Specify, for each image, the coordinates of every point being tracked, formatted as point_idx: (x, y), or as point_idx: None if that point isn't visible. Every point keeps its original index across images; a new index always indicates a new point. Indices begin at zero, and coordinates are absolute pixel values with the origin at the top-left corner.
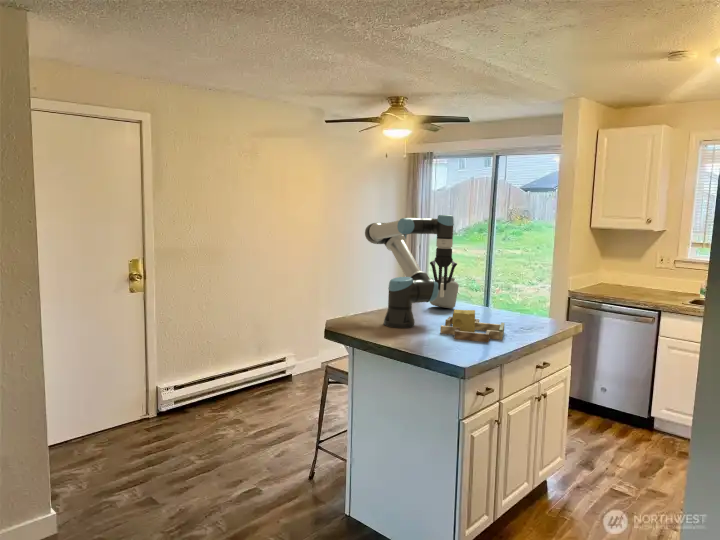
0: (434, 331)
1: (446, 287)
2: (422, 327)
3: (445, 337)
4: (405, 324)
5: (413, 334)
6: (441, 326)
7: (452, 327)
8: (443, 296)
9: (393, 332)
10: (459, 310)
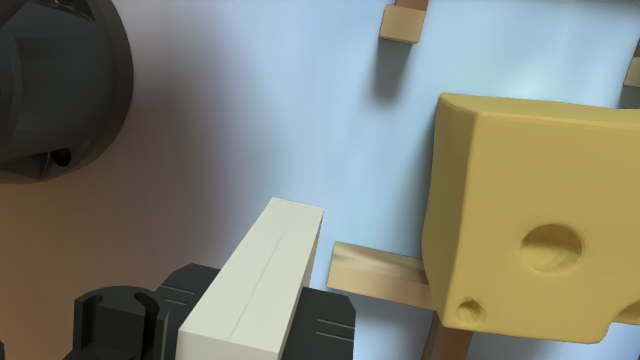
0: None
1: (352, 344)
2: (199, 106)
3: (361, 355)
4: (67, 172)
5: None
6: (332, 286)
7: (417, 305)
8: (315, 252)
9: (38, 292)
10: (534, 170)
